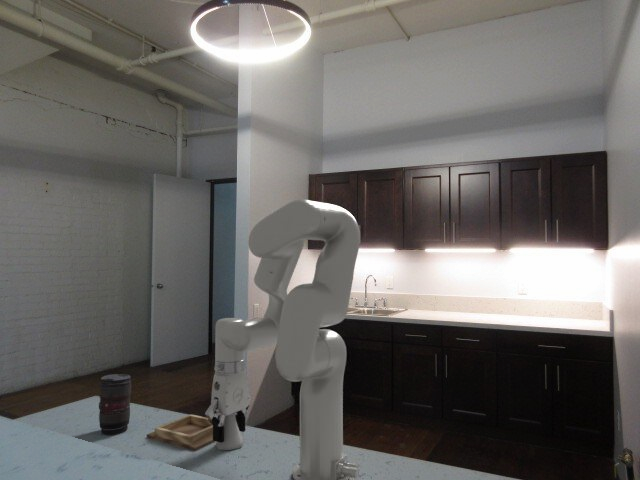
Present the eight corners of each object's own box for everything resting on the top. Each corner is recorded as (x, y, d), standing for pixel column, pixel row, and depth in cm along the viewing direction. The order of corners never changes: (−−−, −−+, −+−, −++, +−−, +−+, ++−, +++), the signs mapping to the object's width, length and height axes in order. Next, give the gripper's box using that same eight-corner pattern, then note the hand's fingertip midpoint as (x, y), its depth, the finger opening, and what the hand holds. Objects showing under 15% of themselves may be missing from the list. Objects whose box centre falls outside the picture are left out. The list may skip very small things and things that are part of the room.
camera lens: (118, 437, 123) (119, 380, 124) (92, 435, 125) (93, 379, 126) (136, 426, 131) (137, 373, 132) (111, 425, 133) (112, 372, 134)
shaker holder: (232, 433, 126) (232, 422, 126) (195, 451, 114) (195, 439, 114) (185, 422, 135) (186, 412, 135) (146, 437, 123) (146, 427, 123)
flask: (215, 452, 113) (216, 411, 114) (214, 441, 120) (214, 403, 121) (245, 449, 115) (245, 408, 116) (242, 438, 122) (242, 400, 123)
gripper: (217, 375, 109) (216, 450, 108) (262, 361, 124) (261, 428, 123) (194, 371, 113) (193, 444, 112) (240, 359, 128) (240, 423, 127)
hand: (229, 435), depth 118 cm, fingers open, 7 cm apart
